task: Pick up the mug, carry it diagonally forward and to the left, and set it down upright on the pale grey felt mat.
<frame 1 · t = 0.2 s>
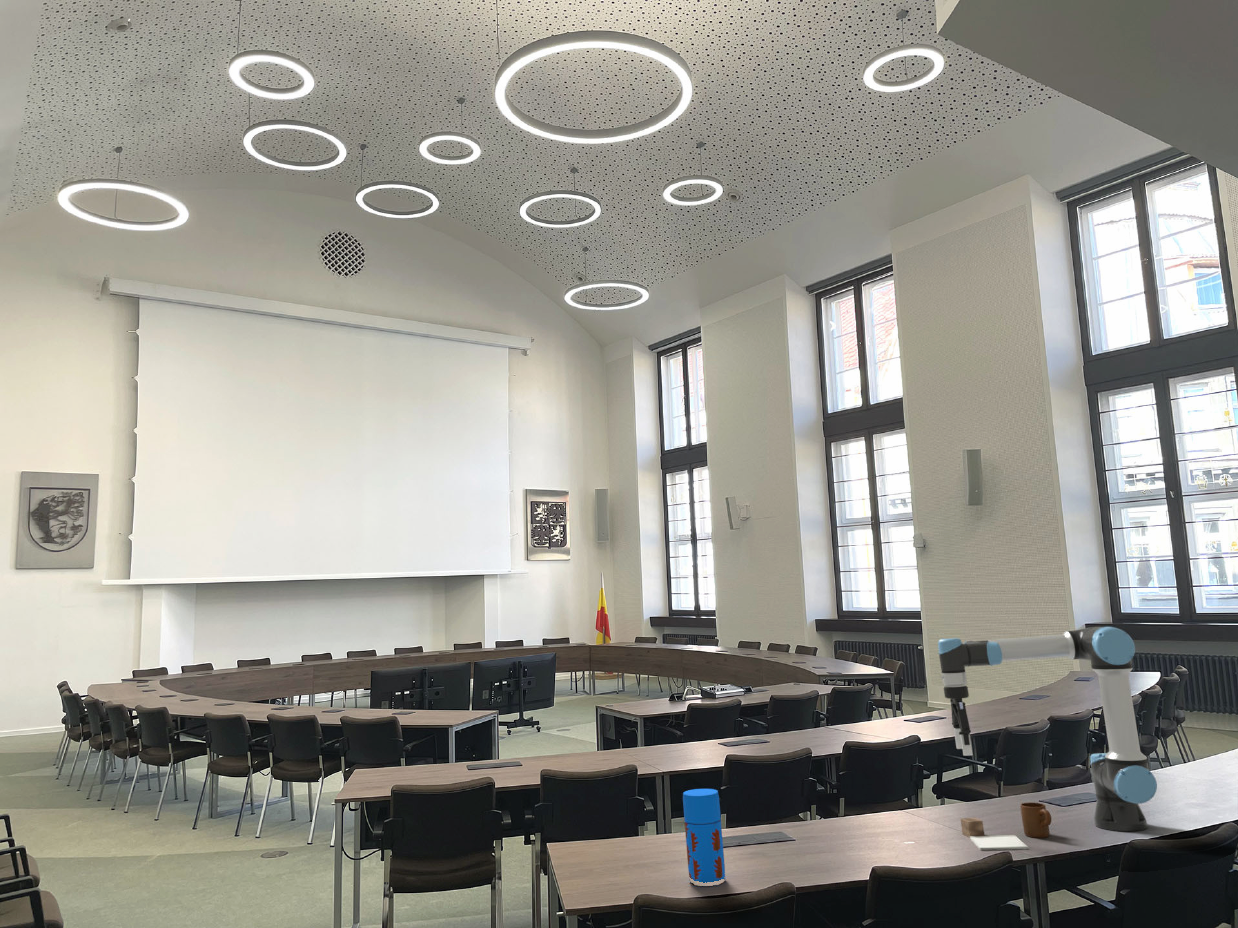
hand: (964, 751, 276), 27 cm above the table, fingers open, 13 cm apart
mug: (1041, 837, 270), on the table
felt mat: (998, 843, 266), on the table
thermos: (707, 881, 247), on the table
walnut block: (973, 835, 277), on the table
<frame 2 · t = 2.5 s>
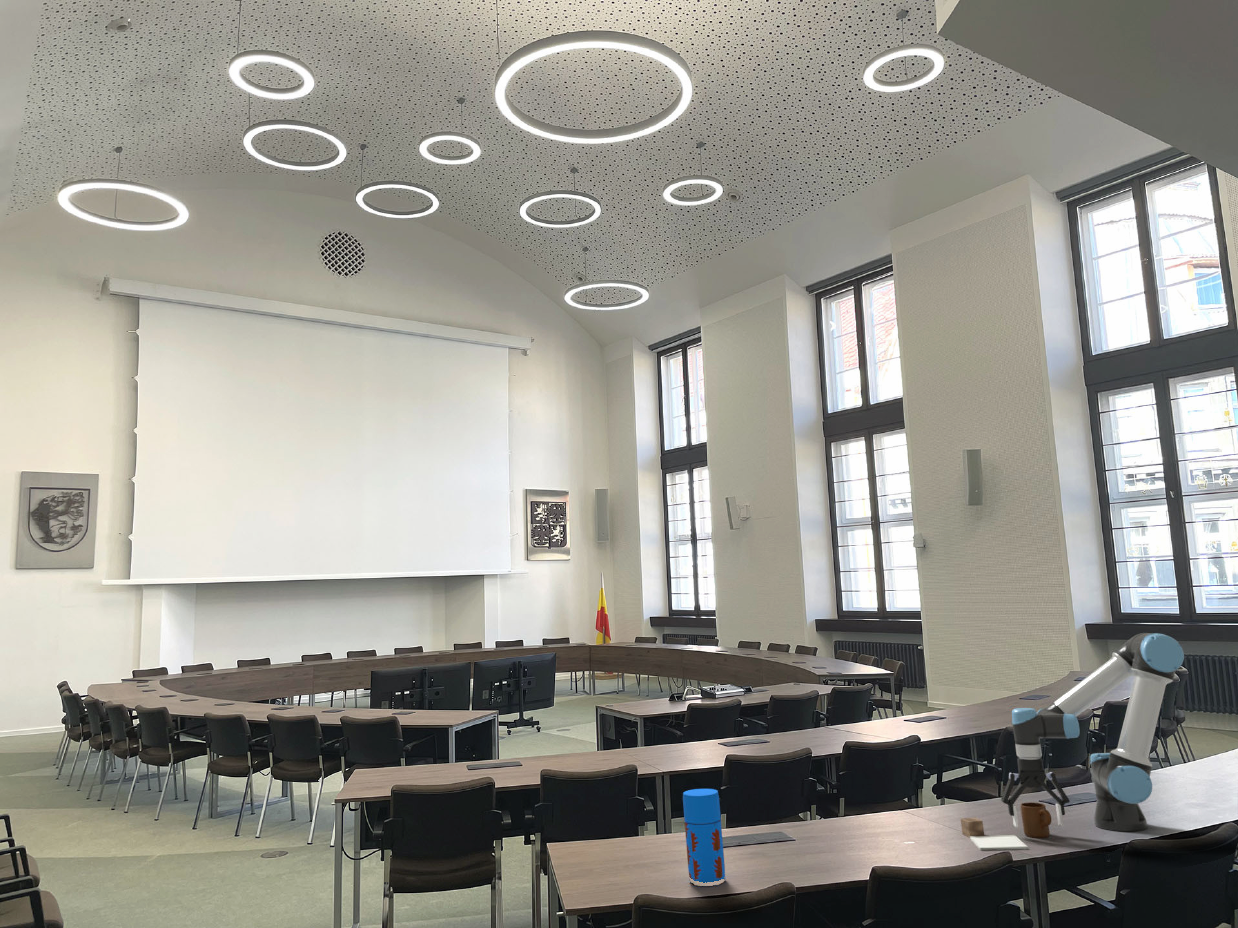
hand: (1038, 825, 271), 3 cm above the table, fingers open, 13 cm apart
nothing on the table moved.
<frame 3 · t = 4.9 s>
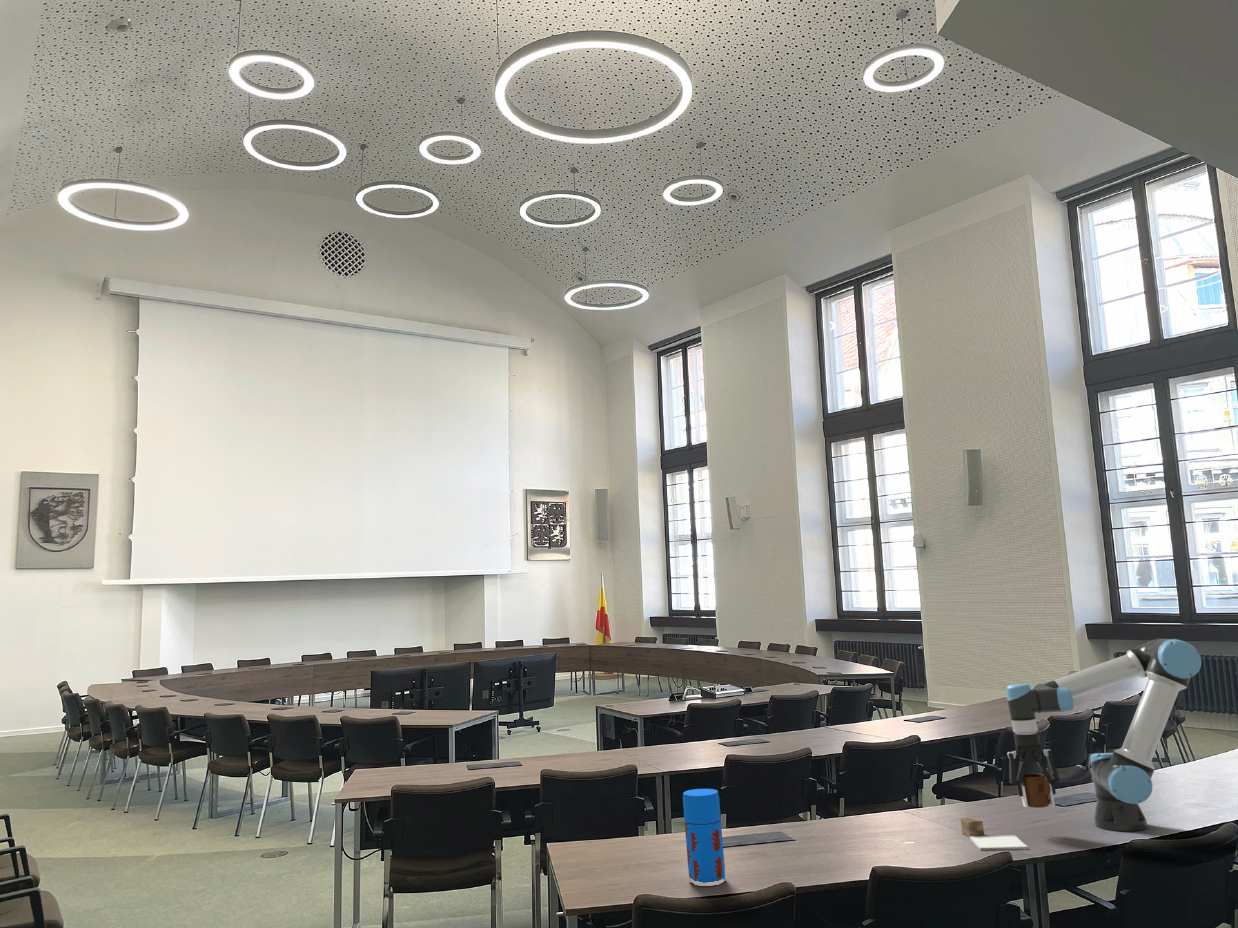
hand: (1039, 805, 272), 9 cm above the table, fingers closed on mug, 7 cm apart
mug: (1041, 807, 271), point 9 cm above the table, touching gripper
everything else where it was.
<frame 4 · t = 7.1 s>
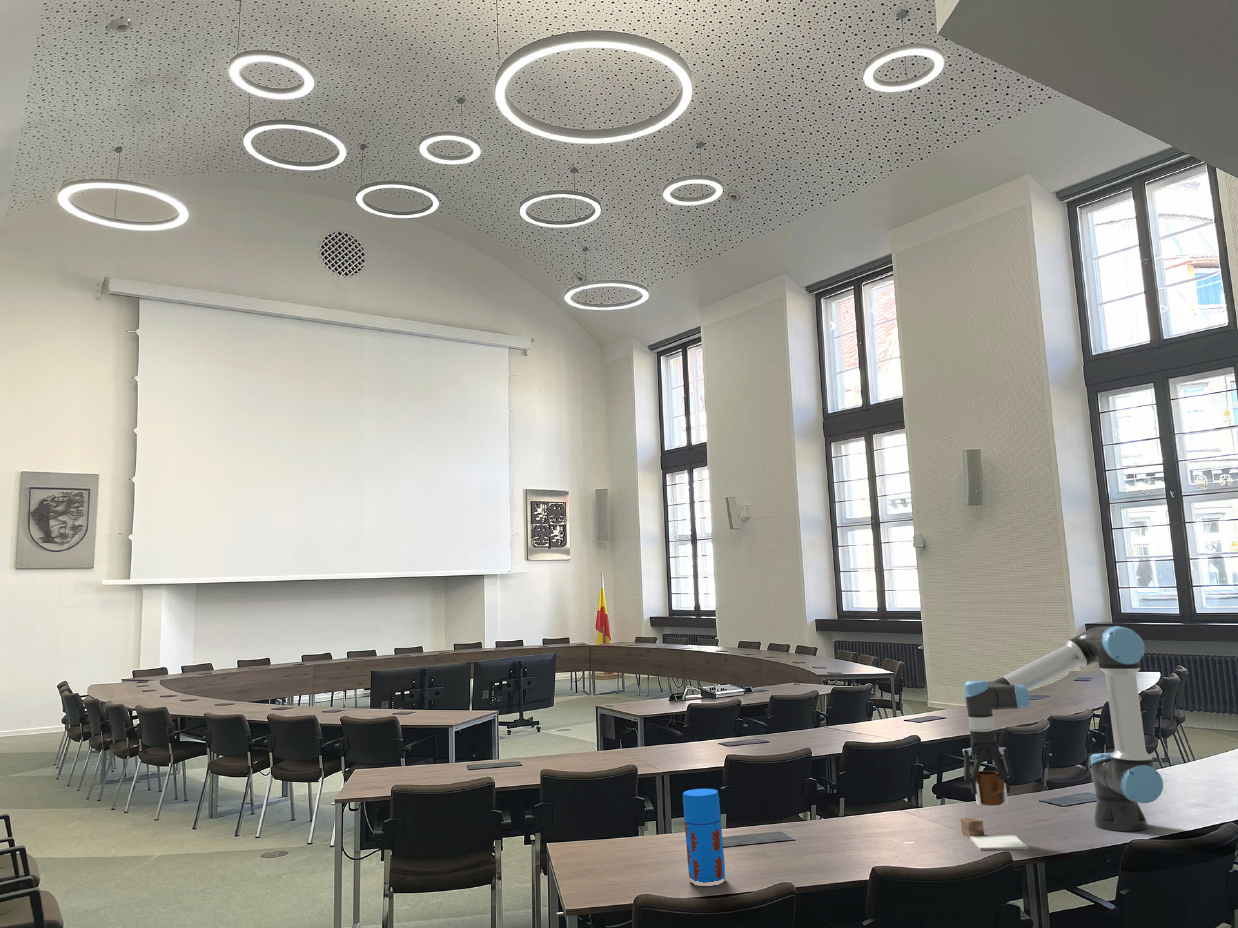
hand: (992, 803, 268), 12 cm above the table, fingers closed on mug, 7 cm apart
mug: (994, 805, 268), point 11 cm above the table, touching gripper
everything else where it was.
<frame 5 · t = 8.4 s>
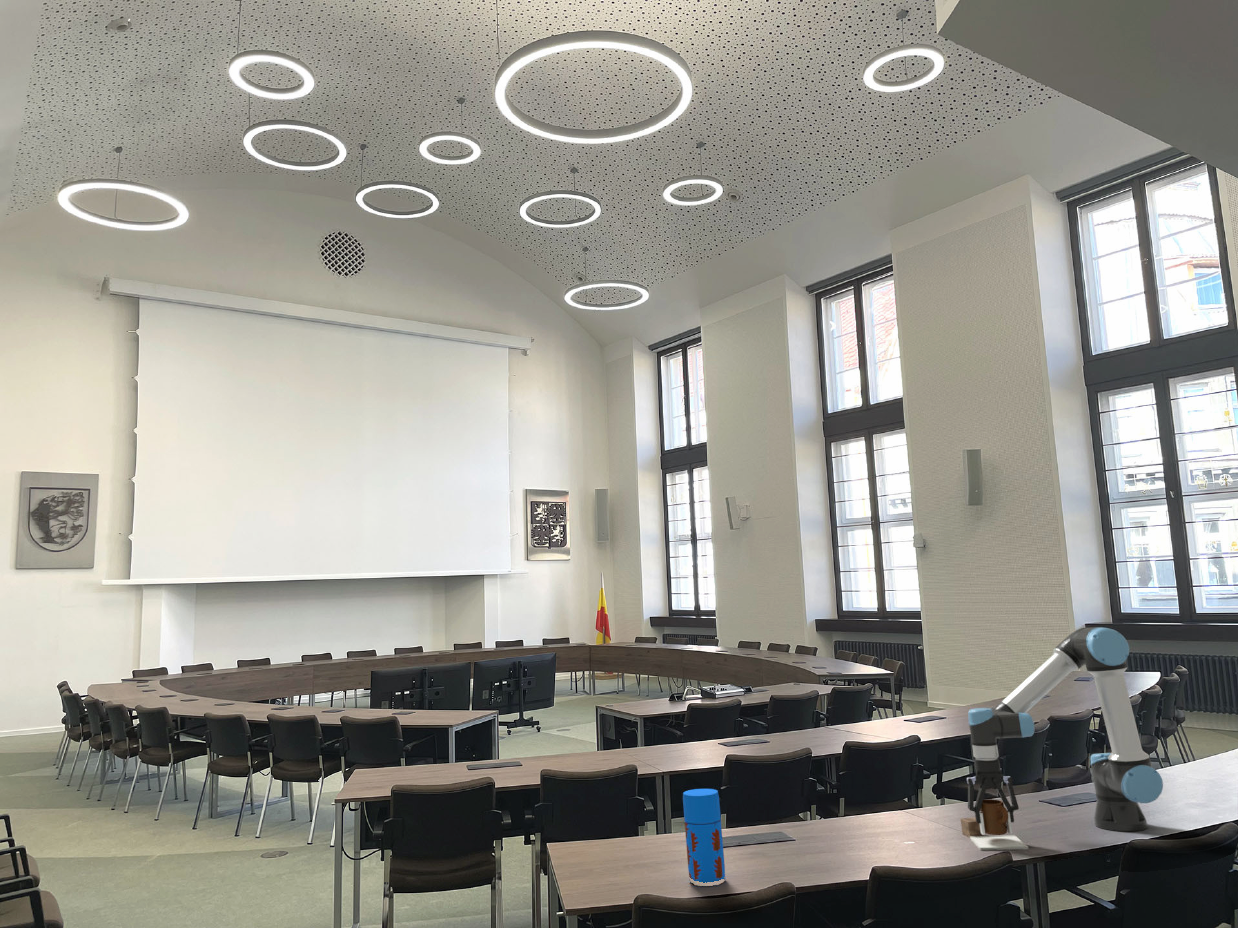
hand: (996, 833, 266), 3 cm above the table, fingers closed on mug, 7 cm apart
mug: (998, 834, 266), point 3 cm above the table, touching gripper
everything else where it was.
when the fingers open (1 cm above the table, at t = 9.7 s): mug stays where it is, resting on felt mat.
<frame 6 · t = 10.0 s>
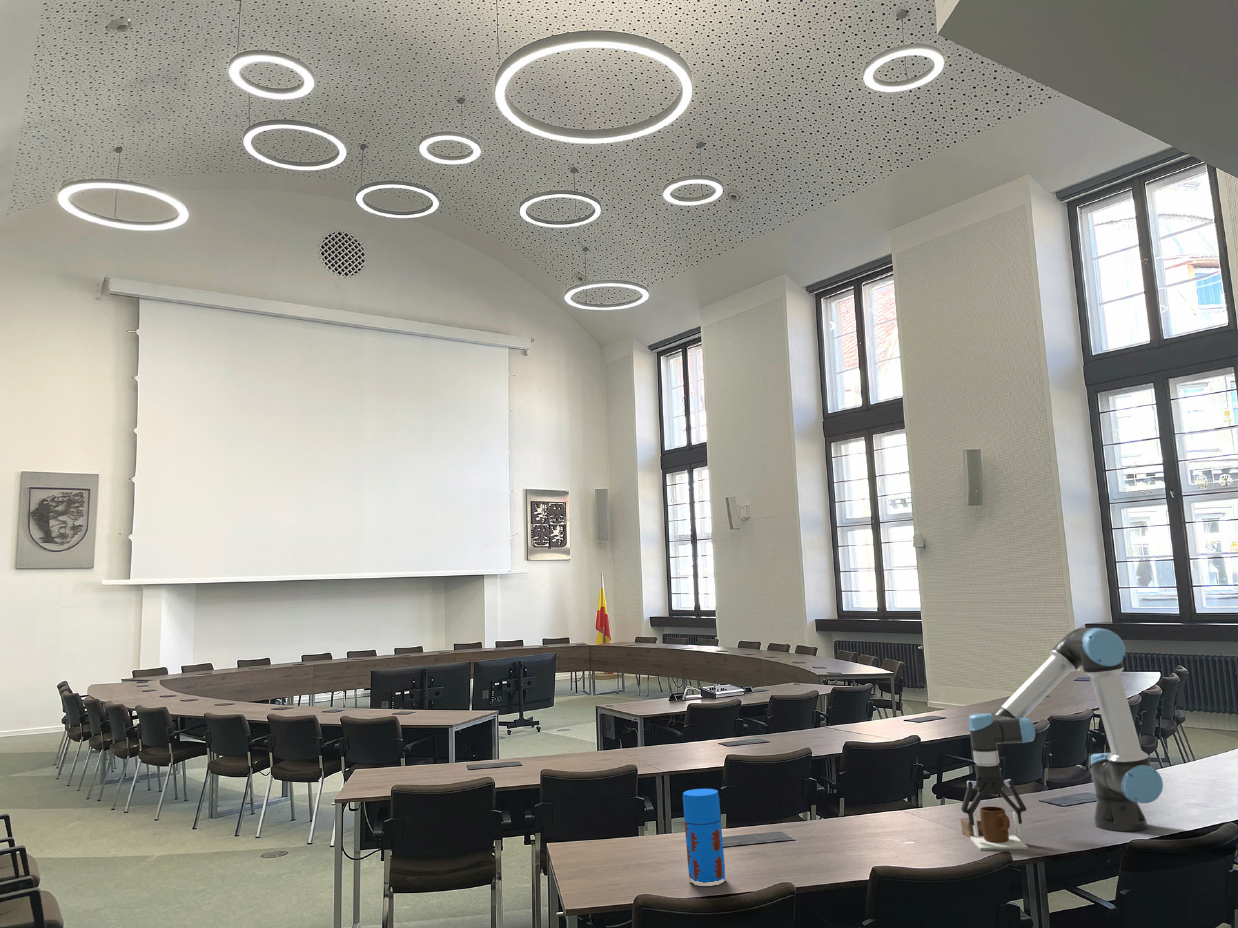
hand: (997, 835, 266), 3 cm above the table, fingers open, 12 cm apart
mug: (1000, 842, 266), resting on felt mat
everything else where it was.
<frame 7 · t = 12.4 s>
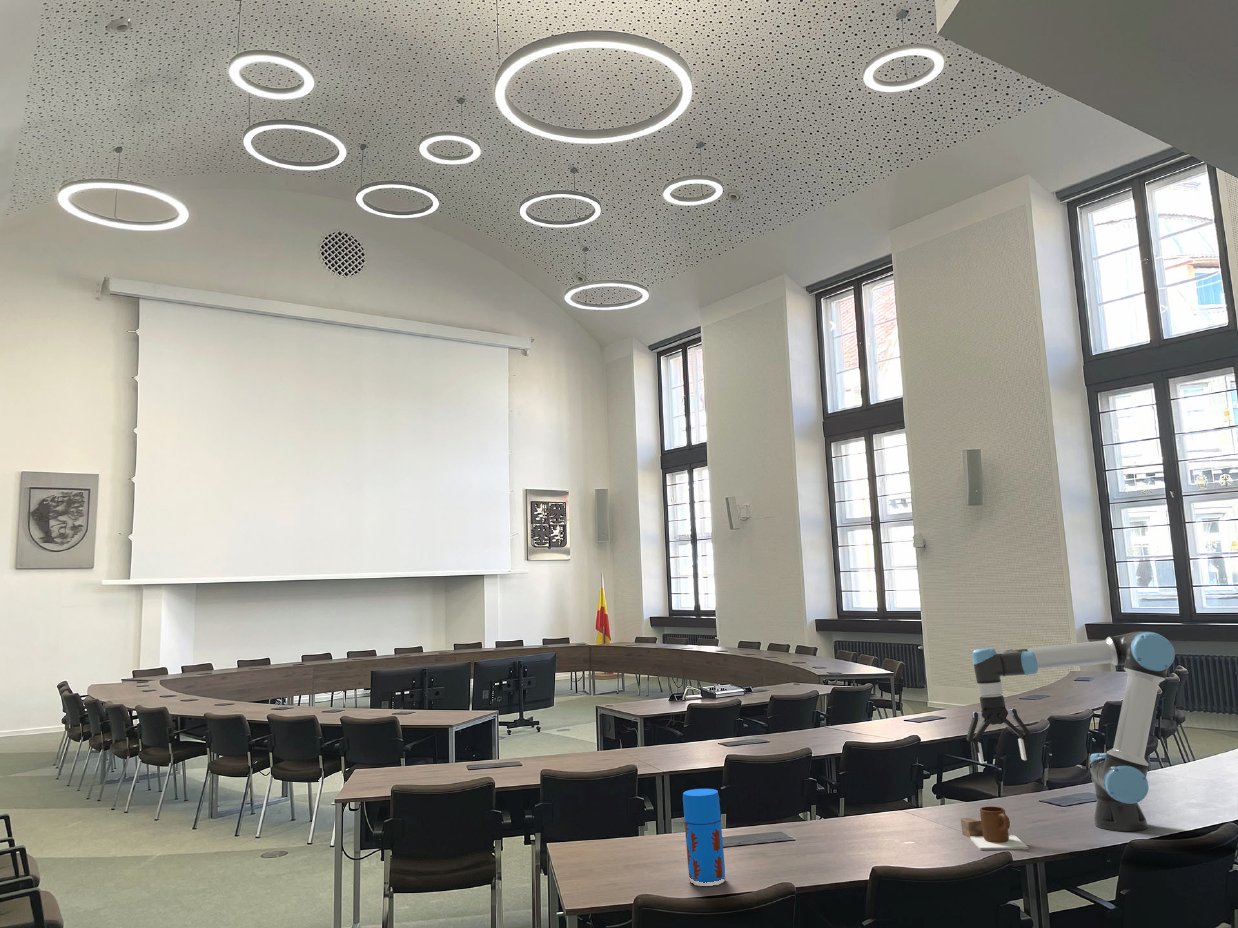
hand: (1002, 761, 278), 23 cm above the table, fingers open, 13 cm apart
nothing on the table moved.
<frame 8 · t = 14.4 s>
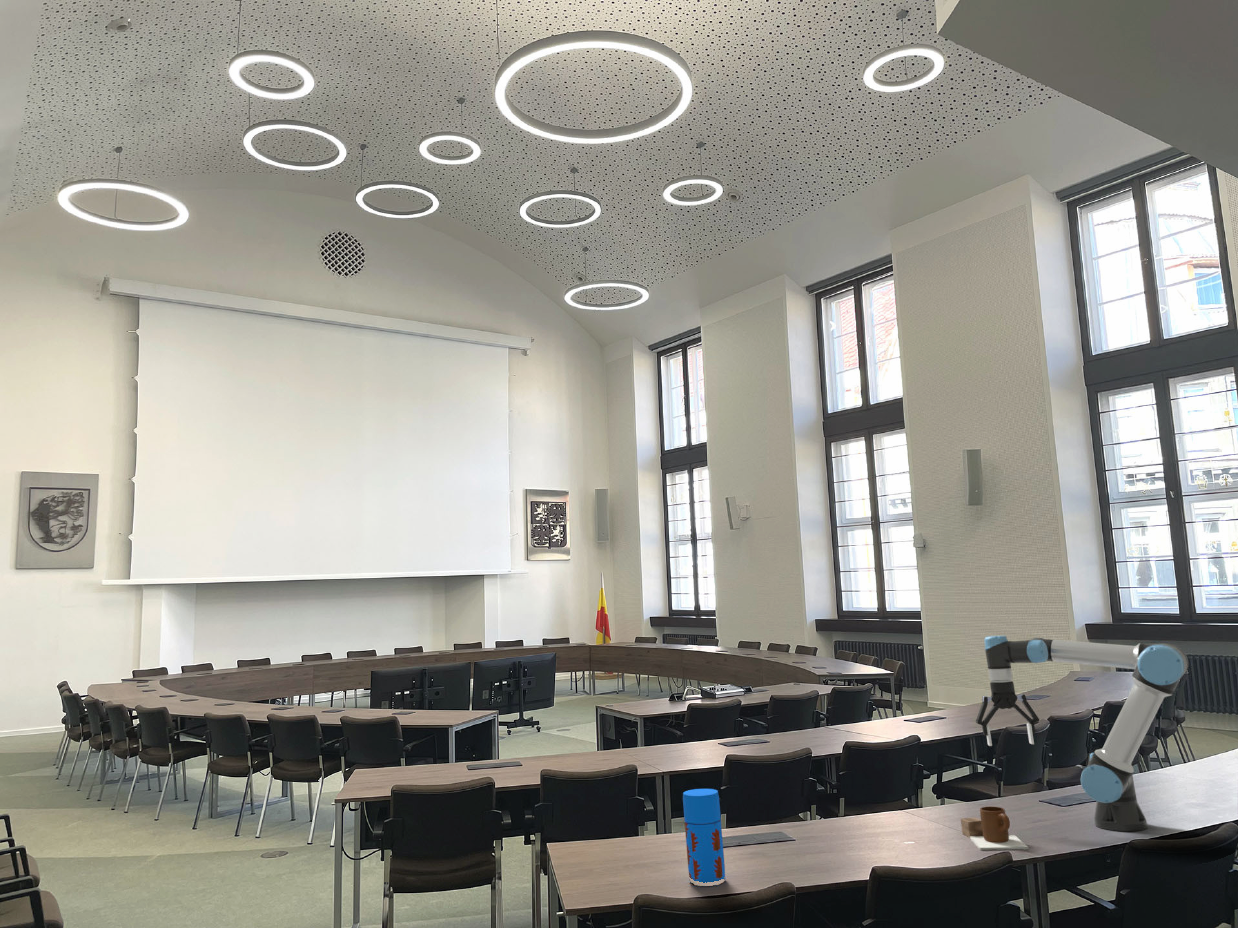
hand: (1010, 744, 288), 27 cm above the table, fingers open, 13 cm apart
nothing on the table moved.
at the end: mug inside the target area on the felt mat (0.8 cm from its centre), point 0.4 cm above the felt mat's base; mug tilted 0°; the gripper is holding nothing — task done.
